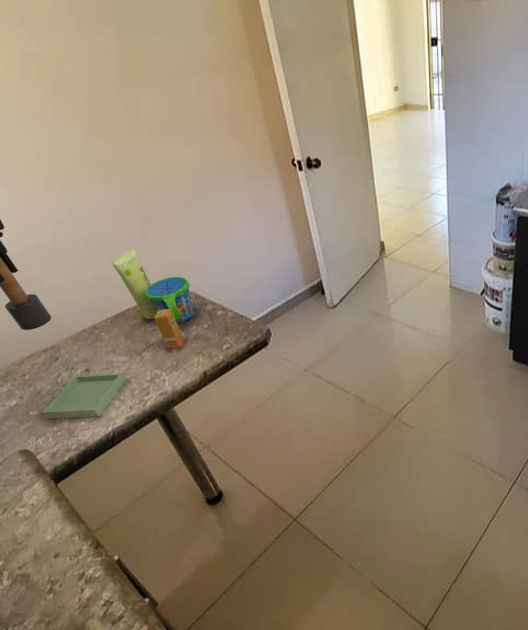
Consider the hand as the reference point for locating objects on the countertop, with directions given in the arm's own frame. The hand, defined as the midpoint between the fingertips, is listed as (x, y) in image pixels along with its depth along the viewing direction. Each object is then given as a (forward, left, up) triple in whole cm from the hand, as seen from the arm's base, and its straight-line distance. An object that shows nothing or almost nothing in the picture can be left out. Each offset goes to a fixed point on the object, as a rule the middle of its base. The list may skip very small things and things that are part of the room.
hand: (2, 276), depth 79 cm
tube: (-1, +32, -32) cm, 45 cm away
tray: (0, 0, -32) cm, 32 cm away
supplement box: (+12, +18, -32) cm, 38 cm away
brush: (0, 0, -11) cm, 11 cm away
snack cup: (+8, +30, -32) cm, 45 cm away
